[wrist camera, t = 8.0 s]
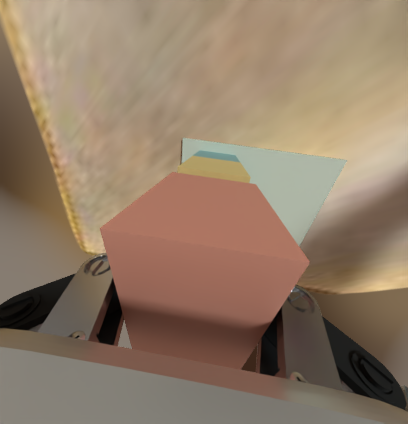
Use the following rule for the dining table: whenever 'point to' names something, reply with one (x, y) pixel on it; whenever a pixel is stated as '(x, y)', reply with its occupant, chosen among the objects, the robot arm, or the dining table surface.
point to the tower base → (215, 166)
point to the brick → (201, 268)
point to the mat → (282, 179)
